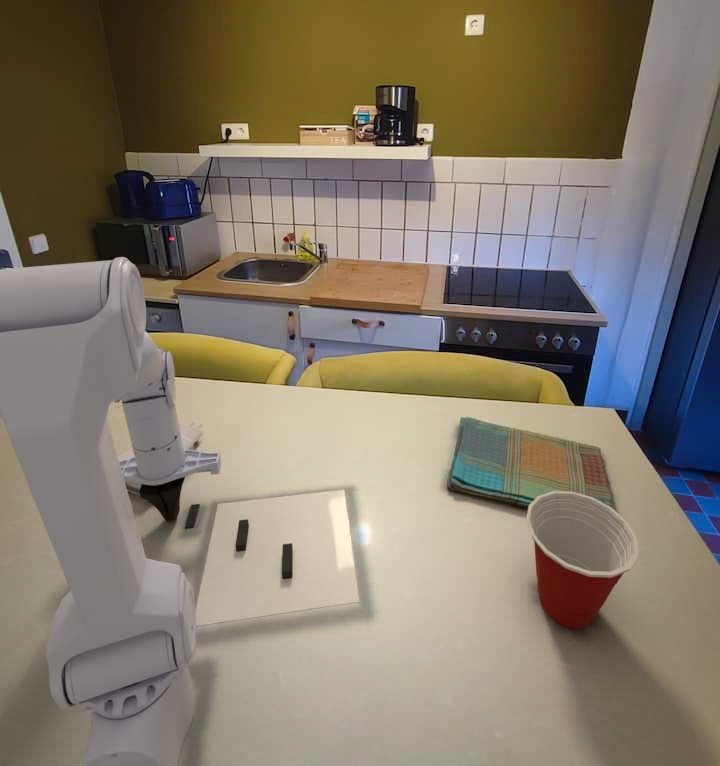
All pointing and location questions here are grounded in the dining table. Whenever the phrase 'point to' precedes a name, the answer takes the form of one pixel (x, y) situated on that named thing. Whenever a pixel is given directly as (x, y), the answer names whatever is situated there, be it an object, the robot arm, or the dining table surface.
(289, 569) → the ink strip
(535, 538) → the plastic cup
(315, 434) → the dining table surface
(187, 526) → the ink strip
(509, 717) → the dining table surface
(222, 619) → the whiteboard
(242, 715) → the dining table surface
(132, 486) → the charger
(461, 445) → the dish towel
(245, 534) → the ink strip
